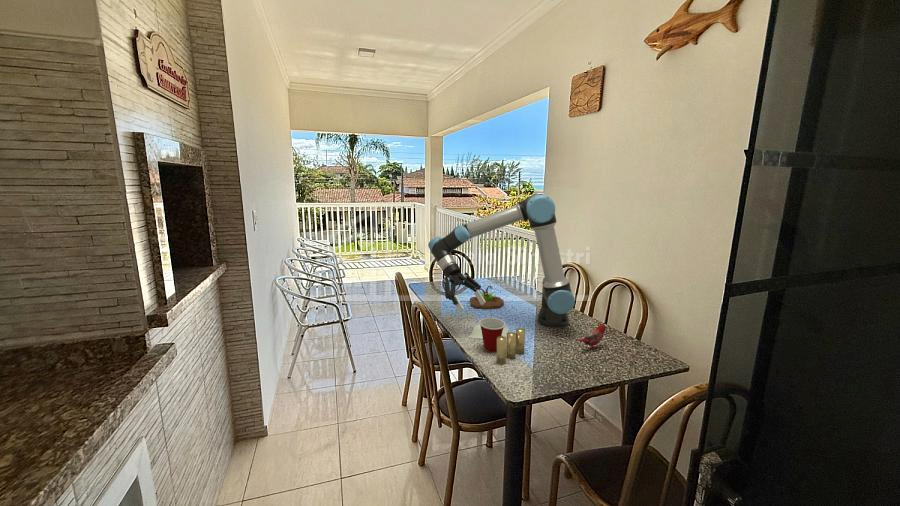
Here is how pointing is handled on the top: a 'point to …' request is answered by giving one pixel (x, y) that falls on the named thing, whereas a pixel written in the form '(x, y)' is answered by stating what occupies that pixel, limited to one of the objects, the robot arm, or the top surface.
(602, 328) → the decorative bird figurine
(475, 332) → the mat
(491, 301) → the plant
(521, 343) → the spacer posts
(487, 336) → the plastic cup
